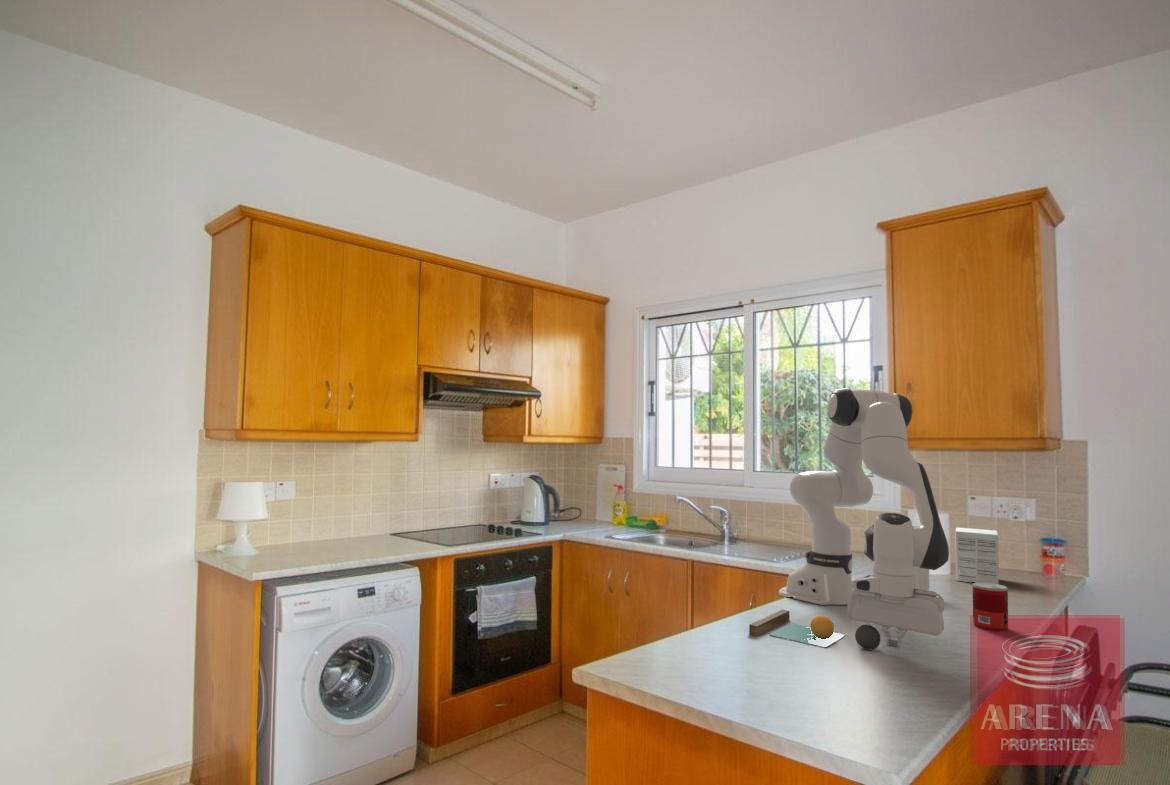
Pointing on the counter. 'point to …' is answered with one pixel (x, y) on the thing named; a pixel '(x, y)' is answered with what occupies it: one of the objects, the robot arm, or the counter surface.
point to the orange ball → (822, 626)
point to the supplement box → (977, 555)
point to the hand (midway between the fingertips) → (894, 646)
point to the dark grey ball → (867, 637)
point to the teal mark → (794, 633)
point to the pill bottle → (921, 578)
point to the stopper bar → (768, 623)
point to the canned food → (990, 606)
